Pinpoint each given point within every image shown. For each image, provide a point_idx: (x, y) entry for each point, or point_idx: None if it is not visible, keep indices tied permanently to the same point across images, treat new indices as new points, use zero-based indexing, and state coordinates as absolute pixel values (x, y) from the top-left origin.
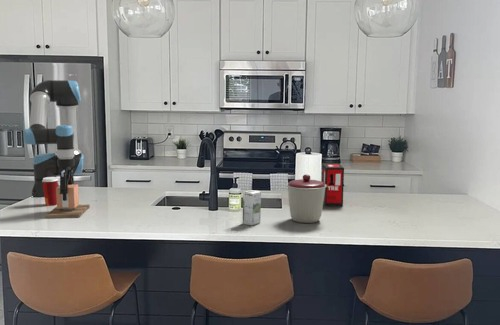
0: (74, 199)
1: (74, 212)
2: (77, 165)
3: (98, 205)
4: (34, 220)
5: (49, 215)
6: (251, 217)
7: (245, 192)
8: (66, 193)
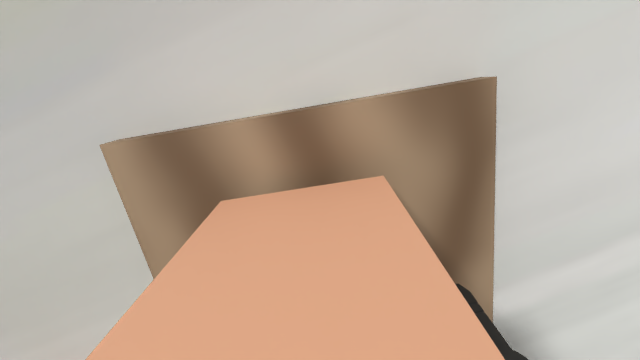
0: (395, 213)
1: (423, 151)
2: None
3: (25, 87)
4: (528, 343)
5: (489, 299)
6: None
7: None
8: (519, 355)
